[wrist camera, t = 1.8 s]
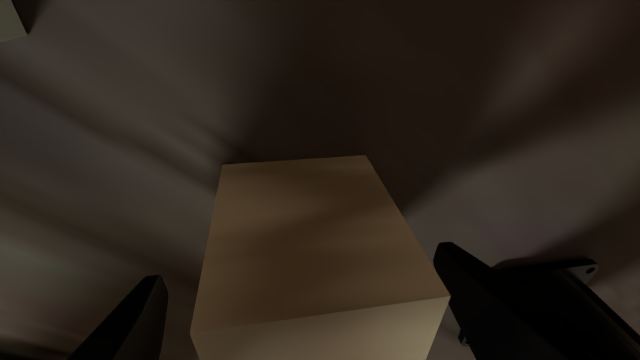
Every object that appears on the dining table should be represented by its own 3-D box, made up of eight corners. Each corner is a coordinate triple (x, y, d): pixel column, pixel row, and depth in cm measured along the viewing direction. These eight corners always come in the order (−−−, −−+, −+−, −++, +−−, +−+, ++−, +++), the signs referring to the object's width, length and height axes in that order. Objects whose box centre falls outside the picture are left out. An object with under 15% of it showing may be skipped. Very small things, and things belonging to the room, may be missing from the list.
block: (365, 154, 11) (450, 296, 6) (354, 252, 14) (408, 404, 9) (222, 163, 10) (189, 333, 5) (240, 265, 13) (230, 439, 8)
